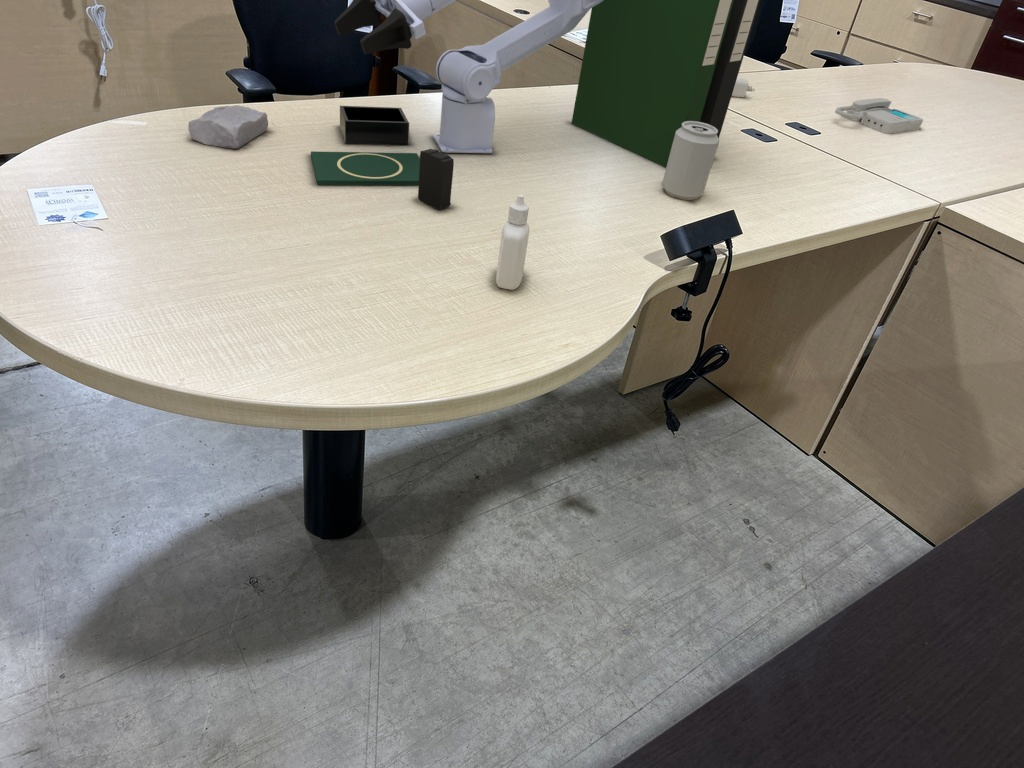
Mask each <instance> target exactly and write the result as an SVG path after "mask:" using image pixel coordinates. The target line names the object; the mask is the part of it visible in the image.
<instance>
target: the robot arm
mask: <svg viewBox="0 0 1024 768" xmlns="http://www.w3.org/2000/svg"><path fill="white" fill-rule="evenodd" d="M456 1H457V0H352V1H351V2H350V4H349V5H348V6H347V8H346V9H345V10H344V11H343V12H342V13H340V15H339V16H338V17H337V18H336V19H335V20H334V21H333V24H334V27H335V30H336V33H337V34H338V36H345V35H347V34H350V33H352V32H354V31H357V30H358V29H362V28H366V27H375V28H373V30H371V31H370V32H368V33H366V34H365V35H364V36H363V37H362V38H361V39H360V40H359V42H360V45H361V49H362V52H363V54H365V55H371V54H375V53H379V52H382V51H385V50H386V51H387V50H394V49H403V50H404V49H406V50H408V49H410V48H412V42H411V39H412V38H413V39H415V40H418V39H420V38H422V37H423V36H425V35H427V33H426V27H425V24H424V20H426V19H427V18H429V17H431V16H432V15H434V14H436V13H437V12H439V11H441V10H443V9H444V8H446V7H448V6H449V5H451V4H453V3H455V2H456ZM547 1H548V4H549V6H548V7H546V8H544V9H543V10H541V11H539V12H538V13H535V14H534V15H533V16H531V17H529V18H527V19H526V20H524V21H522V22H520V23H519V24H517V25H515V26H513V27H511V28H510V29H508V30H506V31H504V32H502V33H501V34H499V35H497V36H495V37H494V38H492V39H490V40H489V41H486V42H485V43H483V44H477V45H475V44H474V45H466V46H463V47H462V48H459V49H448V50H446V51H444V52H443V53H442V54H441V55H440V57H439V58H438V60H437V63H436V66H435V75H436V79H437V81H438V82H439V83H440V84H441V88H440V89H441V90H440V91H441V92H442V95H441V96H442V97H441V110H440V111H441V112H440V124H439V125H440V126H439V134H433V139H434V142H435V143H436V145H437V146H438V148H439V149H440V152H441V153H443V154H448V153H449V154H454V153H455V154H493V149H492V148H493V139H494V130H495V121H496V107H495V102H494V100H493V98H492V97H488V96H489V94H490V93H491V92H492V90H493V89H494V88H495V87H497V86H499V85H500V84H501V81H502V72H504V71H506V70H508V69H509V68H511V67H513V66H514V65H516V64H517V63H519V62H521V61H523V60H524V59H526V58H527V57H529V56H532V55H533V54H534V53H537V52H538V51H540V50H541V49H543V48H544V47H546V46H548V45H549V44H552V43H553V42H556V40H558V39H560V38H561V37H563V36H565V35H566V34H568V33H570V32H572V31H573V30H575V28H576V27H577V26H578V25H579V24H580V22H581V21H582V20H583V19H584V18H585V16H586V15H587V14H588V13H589V11H591V10H592V7H594V6H596V5H597V4H599V3H601V2H603V0H547ZM378 12H379V13H381V14H382V15H384V16H385V17H386V18H385V19H384V20H383V21H382V23H380V20H379V18H378V14H377V13H378Z"/></svg>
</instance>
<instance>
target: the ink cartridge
mask: <svg viewBox="0 0 1024 768" xmlns="http://www.w3.org/2000/svg"><path fill="white" fill-rule="evenodd" d="M419 158H420V170H419V185H418V187H417V189H418V190H417V199H418V201H420V203H423V204H425V205H428V206H430V207H431V208H434V209H436V210H438V211H441V210H444V209H447V208H450V207H451V205H452V202H451V200H452V188H453V177H454V168H455V167H454V165H455V164H454V158H452V157H451V155H449V154H448V153H444V152H442V151H439V150H438V149H434V148H428V149H424V150H420V153H419Z"/></svg>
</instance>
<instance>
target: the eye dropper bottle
mask: <svg viewBox="0 0 1024 768" xmlns="http://www.w3.org/2000/svg"><path fill="white" fill-rule="evenodd" d="M524 197H525V196H524V195H523V194H517V197H516V201H515V202H511V203H510V204H509V209H508V215H507V220H506V221H505V223H504V225H503V226H502V229H501V237H500V245H499V251H498V257H497V267H496V275H495V283H496V285H497V287H498V288H501V289H505V290H510V291H513V290H516V289H517V288H518V287H520V285H521V283H522V281H523V277H524V276H523V275H524V270H525V265H526V264H525V263H526V256H527V249H528V243H529V237H530V226H529V224H528V217H529V210H530V207H529V205H528V204H526V203H525V199H524Z"/></svg>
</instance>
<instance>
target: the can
mask: <svg viewBox="0 0 1024 768" xmlns="http://www.w3.org/2000/svg"><path fill="white" fill-rule="evenodd" d="M717 133H718V130H717V129H716V128H715V127H713V126H711V125H709V124H706V123H702V122H697V121H686V122H683V123H682V127H681V128H679V129H678V130H677V131H676V133H675V137H674V140H673V144H672V148H671V152H670V156H669V159H668V163H667V167H665V170H664V171H665V172H664V175H663V178H662V182H661V186H662V187H663V189H664V190H665V193H666V194H667V195H669V196H671V197H673V198H676V199H678V200H679V199H680V200H683V201H693V200H696V199H698V198H699V197H701V196H703V195H704V194H705V190H706V188H707V187H706V186H707V183H708V179H709V177H710V174H711V170H712V166H713V163H714V160H715V157H716V153H717V150H718V147H719V144H720V137H719V138H718V136H717Z"/></svg>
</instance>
